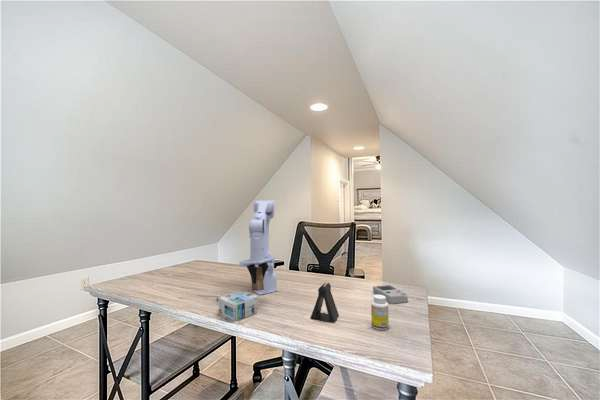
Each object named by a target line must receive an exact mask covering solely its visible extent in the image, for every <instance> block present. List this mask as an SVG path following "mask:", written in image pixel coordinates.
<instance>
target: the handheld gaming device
mask: <svg viewBox="0 0 600 400" xmlns="http://www.w3.org/2000/svg"><path fill="white" fill-rule="evenodd" d="M372 292H373V294H374V295H383V296H385V297H386V302H387V303H388V304H393V305H394V304H395V305H396V304H405V303H408V300H409V299H408V297H409V296H408V294H406V293H405V292H404V291H403V290H400V289H399V288H397V287H394V286H392V285H390V284H386V285H385V284H384V285H373V287H372Z"/></svg>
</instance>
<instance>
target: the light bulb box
mask: <svg viewBox="0 0 600 400" xmlns="http://www.w3.org/2000/svg"><path fill="white" fill-rule="evenodd" d="M217 298H218V301H217V303H218V305H217V307H218V315H219V316H220V317H222V318H225V319H226V320H228V321H230V322H231V323H235V322H239V321H241V320H243V319H246V318H248V317H251V316H254V315H256V314H258V295H255V294H252V293H249V291H248V292H247V291H244V290H239V291H236V292H233V293H229V294H226V295H223V296H219V297H217Z"/></svg>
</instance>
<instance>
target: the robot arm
mask: <svg viewBox="0 0 600 400" xmlns="http://www.w3.org/2000/svg"><path fill="white" fill-rule="evenodd" d="M253 212H254V214H253V217H252V219H251V220H249V222H248V231H249V232H248V233H249V238H250V240H249V241H250V245H249V246H250V254H249V255H250V258H249V259H246V260H241V261H240V260H239V267H240V268H244V267H246V268H247V270H248V272H249V275H250V278H252V281H251V284H252V283H253V284H256V271H257V267H261V266H262V275H263V285H264V290H259V291H255V290H252V291H253V292H255V293H256V294H257V295H259V296H261V295H265V294H268V293H269V294H270V293H274V292H278V289H277V274H276V272H275V271H274V269H275V258H274V255H273V254H272V253H271V252H269V244H270V243H269V241H270V240H269V238H270V237H269V236H270V233H269V232H270V221H271V219H273V218H274V216H275V201H274V200H273V199H272V200H257V199H256V200H254V201H253Z"/></svg>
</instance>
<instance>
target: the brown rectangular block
mask: <svg viewBox="0 0 600 400" xmlns="http://www.w3.org/2000/svg"><path fill="white" fill-rule="evenodd" d="M250 278H251V277H250ZM250 280H251V281H250V282H251V289H252V291H253V290H255V291H259V290H264V285H263V275H262V266H261V267H257V271H256V284H253V283H252V278H251V279H250Z"/></svg>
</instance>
